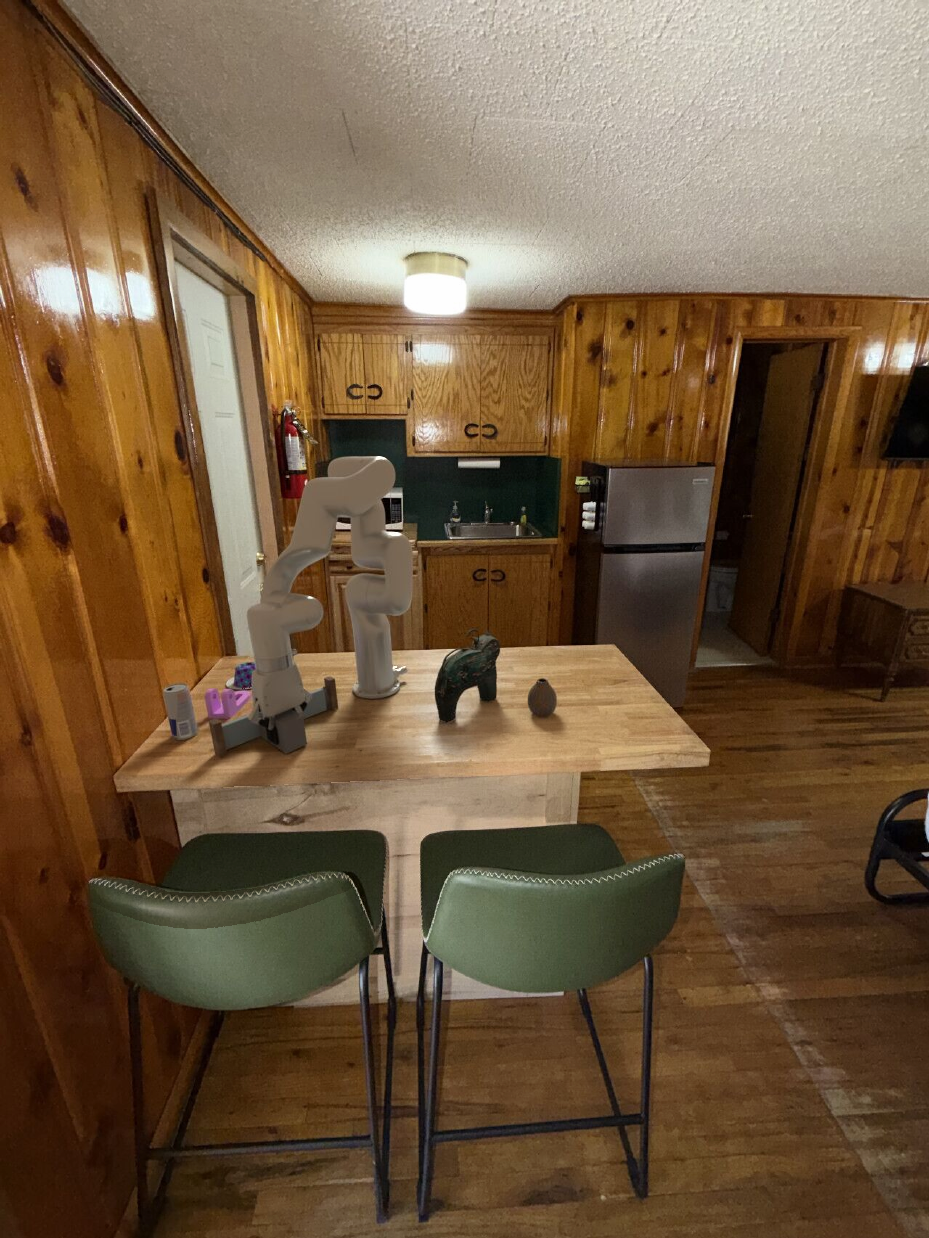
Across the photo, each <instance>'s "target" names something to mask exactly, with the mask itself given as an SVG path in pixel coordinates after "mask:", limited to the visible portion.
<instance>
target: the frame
mask: <svg viewBox="0 0 929 1238" xmlns="http://www.w3.org/2000/svg"><path fill="white" fill-rule="evenodd" d="M323 680H324V686H326V687H327V693H328V701H329V710H332V711H333V710H336V709H338V708H339V702H338V694H337V693H338V691H337V684H336V678H335V677H332V676H330V675H329V676H326V677H324V678H323ZM222 724H223V723H222V721H221V720H220V719H219V718H212V719H210V720H208V725H209V730H210V734H211V735H210V736H211V740H212V745H213V750H214V755H215V756H217V757H218V758H219V759H221V758H223V757H226V756H228V752H227V750H226V745H225V740H224V735H223V730H222Z"/></svg>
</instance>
